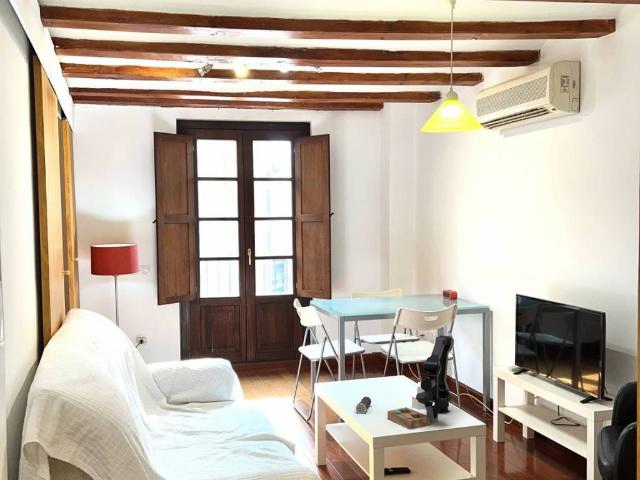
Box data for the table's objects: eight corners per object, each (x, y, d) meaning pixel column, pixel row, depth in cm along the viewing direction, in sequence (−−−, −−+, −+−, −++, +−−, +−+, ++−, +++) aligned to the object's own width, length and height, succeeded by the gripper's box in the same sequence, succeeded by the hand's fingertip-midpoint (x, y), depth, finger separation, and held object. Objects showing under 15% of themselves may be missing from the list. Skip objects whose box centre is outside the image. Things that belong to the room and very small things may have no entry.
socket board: (406, 414, 331) (406, 406, 331) (429, 424, 315) (429, 415, 315) (387, 419, 325) (387, 409, 324) (410, 429, 309) (410, 419, 309)
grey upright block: (432, 419, 324) (432, 405, 324) (438, 421, 321) (438, 407, 320) (426, 420, 322) (426, 406, 322) (431, 422, 319) (431, 408, 318)
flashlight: (362, 405, 349) (362, 395, 349) (371, 405, 347) (371, 395, 347) (355, 413, 334) (355, 403, 334) (365, 414, 333) (365, 404, 332)
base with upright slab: (428, 409, 339) (428, 387, 339) (411, 408, 341) (411, 386, 340) (429, 404, 348) (429, 382, 347) (412, 403, 350) (412, 381, 349)
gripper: (407, 384, 324) (407, 414, 325) (432, 393, 308) (432, 425, 309) (424, 380, 330) (424, 411, 331) (449, 389, 314) (449, 421, 315)
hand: (432, 417), depth 321 cm, fingers closed on grey upright block, 4 cm apart
